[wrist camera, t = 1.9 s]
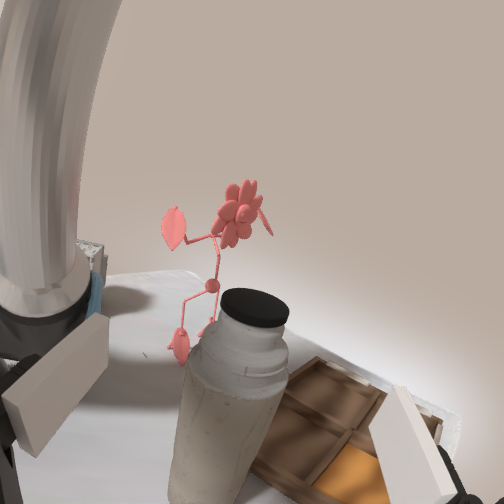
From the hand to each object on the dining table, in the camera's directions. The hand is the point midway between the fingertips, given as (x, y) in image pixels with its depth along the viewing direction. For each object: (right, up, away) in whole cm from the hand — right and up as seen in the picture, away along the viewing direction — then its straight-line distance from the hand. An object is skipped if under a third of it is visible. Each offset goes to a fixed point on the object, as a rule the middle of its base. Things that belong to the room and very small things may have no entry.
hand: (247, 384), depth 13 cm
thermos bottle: (-6, -24, +16) cm, 30 cm away
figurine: (-9, -15, +47) cm, 50 cm away
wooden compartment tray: (+15, -26, +31) cm, 43 cm away
